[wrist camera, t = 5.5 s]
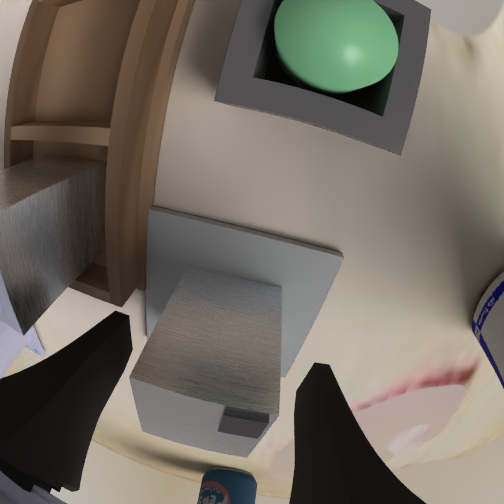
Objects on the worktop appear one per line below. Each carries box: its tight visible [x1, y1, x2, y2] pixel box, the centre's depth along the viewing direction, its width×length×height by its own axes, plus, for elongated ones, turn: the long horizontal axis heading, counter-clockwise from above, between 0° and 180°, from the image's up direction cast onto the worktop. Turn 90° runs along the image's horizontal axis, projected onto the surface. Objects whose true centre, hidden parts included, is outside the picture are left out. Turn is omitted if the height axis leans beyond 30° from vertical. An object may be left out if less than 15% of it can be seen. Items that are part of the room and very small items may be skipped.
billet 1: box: [0, 155, 107, 336], centre depth 8 cm, size 4×4×6 cm
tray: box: [146, 206, 344, 377], centre depth 13 cm, size 8×8×1 cm
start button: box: [274, 0, 398, 95], centre depth 5 cm, size 3×3×2 cm
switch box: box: [215, 0, 431, 155], centre depth 6 cm, size 5×5×3 cm
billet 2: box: [130, 264, 282, 457], centre depth 10 cm, size 4×4×6 cm
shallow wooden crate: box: [4, 0, 195, 307], centre depth 8 cm, size 8×14×2 cm, turn 167°
